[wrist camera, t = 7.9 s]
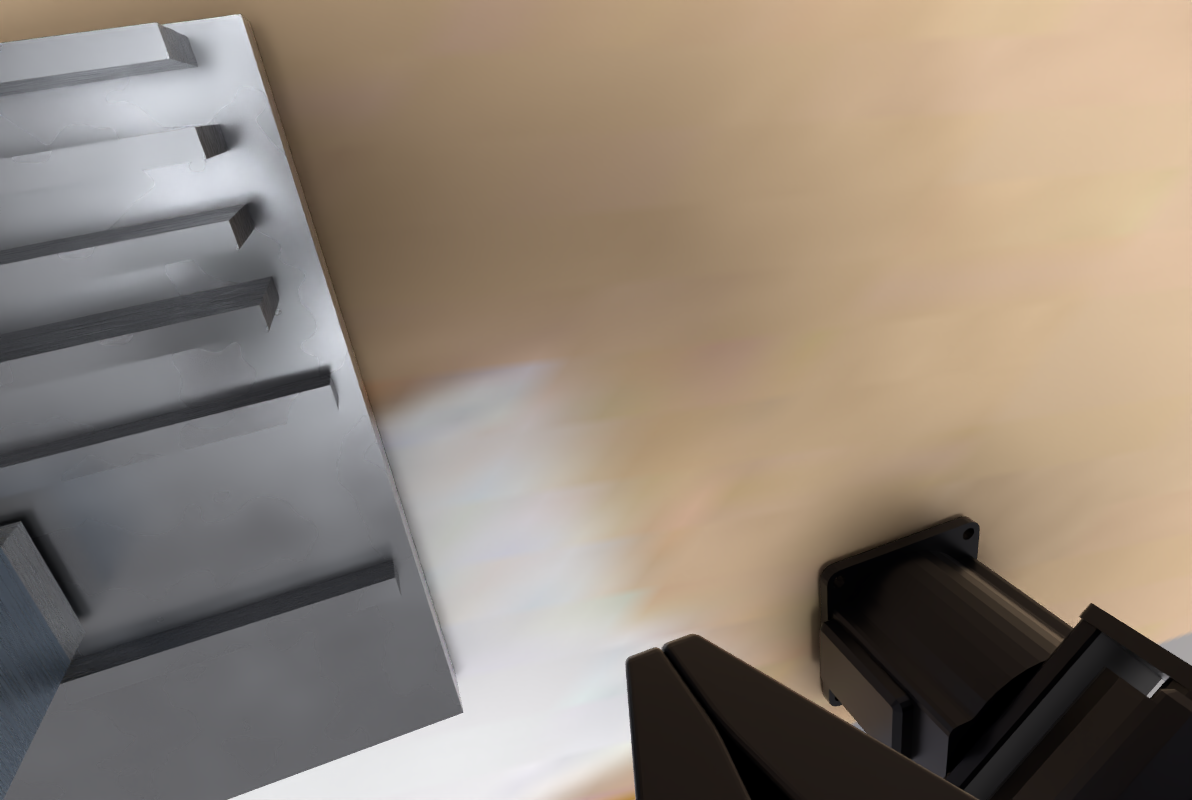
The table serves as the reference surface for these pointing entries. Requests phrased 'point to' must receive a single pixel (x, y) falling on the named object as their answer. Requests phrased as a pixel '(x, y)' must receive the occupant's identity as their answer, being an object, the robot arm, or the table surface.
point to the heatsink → (192, 431)
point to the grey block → (29, 645)
